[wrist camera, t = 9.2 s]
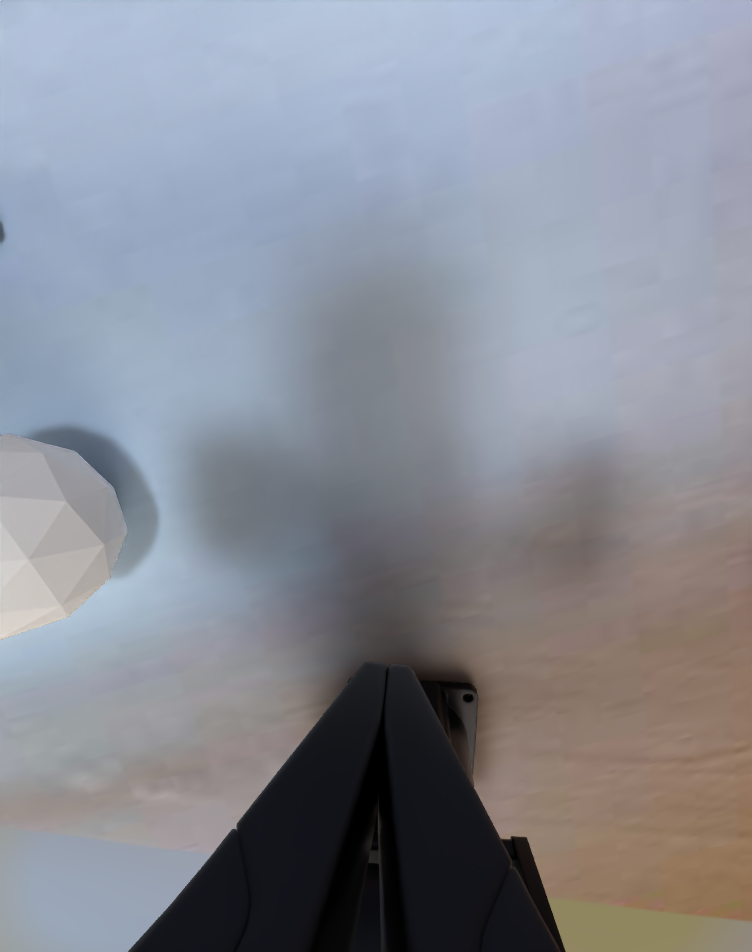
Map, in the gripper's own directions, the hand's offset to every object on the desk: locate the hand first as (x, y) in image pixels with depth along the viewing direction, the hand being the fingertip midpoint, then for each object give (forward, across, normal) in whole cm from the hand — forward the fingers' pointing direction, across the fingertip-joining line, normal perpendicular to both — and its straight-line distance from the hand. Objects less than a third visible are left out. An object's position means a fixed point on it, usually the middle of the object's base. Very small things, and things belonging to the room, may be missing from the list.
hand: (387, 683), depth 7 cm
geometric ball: (+11, +15, +1) cm, 19 cm away
